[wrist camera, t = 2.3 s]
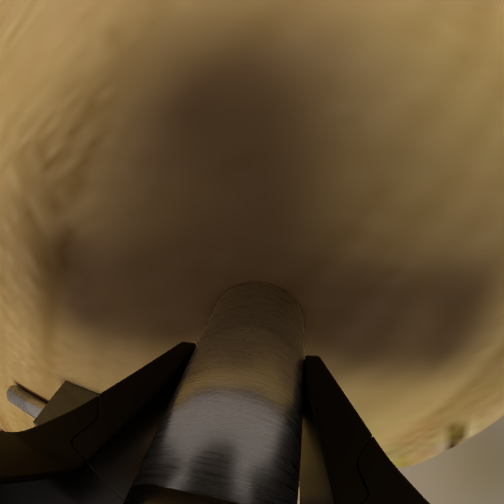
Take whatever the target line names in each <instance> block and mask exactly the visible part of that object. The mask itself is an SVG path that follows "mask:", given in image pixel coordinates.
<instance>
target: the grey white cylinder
mask: <svg viewBox="0 0 504 504" xmlns="http://www.w3.org/2000/svg"><path fill="white" fill-rule="evenodd" d="M303 388H304V316H303V312H302V310H301V307H300V306H299V304H298V302H297V301H296V300H295V299H294V298H293V297H292V296H291V295H290V294H289V293H287V292H286V291H284V290H283V289H281V288H279V287H277V286H274V285H271V284H267V283H260V282H251V283H244V284H240V285H237V286H235V287H233V288H231V289H229V290H228V291H226V292H225V293H224V294H223V295H222V296H221V297H220V299H219V300H218V302H217V304H216V306H215V308H214V310H213V312H212V314H211V316H210V319H209V321H208V323H207V325H206V327H205V329H204V331H203V333H202V335H201V337H200V339H199V342H198V344H197V346H196V348H195V350H194V352H193V354H192V356H191V358H190V360H189V363H188V365H187V367H186V369H185V371H184V373H183V375H182V377H181V379H180V382H179V384H178V386H177V388H176V390H175V392H174V394H173V396H172V399H171V401H170V403H169V405H168V407H167V409H166V411H165V413H164V416H163V418H162V420H161V422H160V424H159V426H158V428H157V431H156V433H155V435H154V437H153V439H152V441H151V444H150V446H149V448H148V450H147V452H146V454H145V457H144V459H143V461H142V463H141V465H140V467H139V470H138V472H137V474H136V476H135V478H134V480H133V483H132V485H131V487H130V489H129V491H128V494H127V496H126V498H125V500H124V502H123V504H297V499H298V488H299V475H300V460H301V443H302V422H303Z"/></svg>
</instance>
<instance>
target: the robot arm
mask: <svg viewBox="0 0 504 504" xmlns="http://www.w3.org/2000/svg"><path fill="white" fill-rule="evenodd" d="M195 348H196V345H195V344H194V343H190V342H181V343H179V344H178V345H176V346H175V347H173V348H172V349H170V350H169V351H167V352H166V353H164V354H163V355H161V356H159V357H158V358H156V359H155V360H153V361H152V362H150V363H149V364H147V365H145V366H144V367H142V368H141V369H139V370H138V371H136V372H134V373H133V374H131V375H130V376H128V377H126V378H125V379H123V380H122V381H120V382H119V383H117V384H115V385H114V386H112V387H110V388H109V389H107V390H106V391H104V392H102V393H101V394H99V397H98V396H96V397H94V398H92V399H91V400H89V401H87V402H86V403H84V404H82V405H80V406H78V407H77V408H75V409H73V410H71V411H69V412H67V413H65V414H63V415H61V416H58V417H56V418H54V419H52V420H49V421H47V422H45V423H42V424H40V425H38V426H35V427H33V428H31V429H28V430H25V431H21V432H4V431H0V504H123V502H124V500H125V498H126V496H127V494H128V491H129V489H130V487H131V485H132V483H133V480H134V478H135V476H136V474H137V472H138V470H139V467H140V465H141V463H142V461H143V459H144V457H145V454H146V452H147V450H148V448H149V446H150V444H151V441H152V439H153V437H154V435H155V433H156V431H157V428H158V426H159V424H160V422H161V420H162V418H163V416H164V413H165V411H166V409H167V407H168V405H169V403H170V401H171V399H172V396H173V394H174V392H175V390H176V388H177V386H178V384H179V382H180V379H181V377H182V375H183V373H184V371H185V369H186V367H187V365H188V363H189V360H190V358H191V356H192V354H193V352H194V350H195ZM299 485H300V504H430V503H429V502H428V501H427V500H426V499H424V498H423V496H422V495H421V494H420V493H419V492H418V491H417V490H416V489H415V488H414V487H413V485H412V484H411V483H410V482H409V481H408V480H407V479H406V478H405V477H404V476H403V475H402V474H401V473H400V471H399V470H398V469H397V468H396V466H395V465H394V464H393V463H392V462H391V461H390V459H389V458H388V457H387V455H386V454H385V453H384V451H383V450H382V448H381V447H380V446H379V444H378V443H377V441H376V440H375V438H374V437H372V434H371V432H370V431H369V429H368V428H367V426H366V425H365V423H364V422H363V421H362V419H361V418H360V416H359V415H358V413H357V412H356V410H355V409H354V407H353V406H352V404H351V403H350V401H349V400H348V398H347V397H346V395H345V394H344V392H343V391H342V389H341V388H340V386H339V385H338V383H337V382H336V380H335V379H334V377H333V376H332V374H331V373H330V371H329V370H328V369H327V367H326V366H325V364H324V363H323V361H322V360H321V358H320V357H319V356H310V355H307V356H305V359H304V388H303V422H302V443H301V460H300V475H299Z"/></svg>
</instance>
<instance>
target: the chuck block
mask: <svg viewBox="0 0 504 504" xmlns="http://www.w3.org/2000/svg"><path fill="white" fill-rule="evenodd" d="M96 396H98V397H99V394H97V393H94V392H91V391H89V390H86V389H84V388H81V387H79V386H76V385H74V384H71V383H69V382H67V381H65V382H64V383H63V384H62V386H61V387H60V388H59V389H58V391H57V392H56V393H55V394H54V396H53V397H52V398H51V399H50V401H49V402H48V403H45V402H43V401H41V400H40V399H38V398H36V397H34V396H33V395H31V394H29V393H27V392H26V391H24V390H23V389H21V388H19V387H18V386H16V385H12V386H10V387H9V389H8V391H7V398H8V400H9V401H10V402H11V403H13V404H14V405H15V406H17V407H18V408H20V409H21V410H23V411H24V412H26V413H28V414H29V415H31V416H32V417H34V418H35V420H34V421H33V423H34V424H35V426H38V425H40V424H42V423H45V422H47V421H49V420H52V419H54V418H56V417H58V416H61V415H63V414H65V413H67V412H69V411H71V410H73V409H75V408H77V407H78V406H80V405H82V404H84V403H86V402H87V401H89V400H91V399H92V398H94V397H96Z"/></svg>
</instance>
